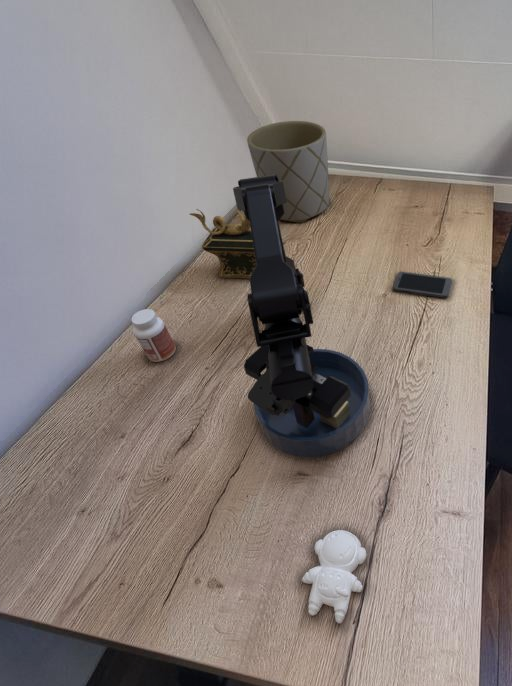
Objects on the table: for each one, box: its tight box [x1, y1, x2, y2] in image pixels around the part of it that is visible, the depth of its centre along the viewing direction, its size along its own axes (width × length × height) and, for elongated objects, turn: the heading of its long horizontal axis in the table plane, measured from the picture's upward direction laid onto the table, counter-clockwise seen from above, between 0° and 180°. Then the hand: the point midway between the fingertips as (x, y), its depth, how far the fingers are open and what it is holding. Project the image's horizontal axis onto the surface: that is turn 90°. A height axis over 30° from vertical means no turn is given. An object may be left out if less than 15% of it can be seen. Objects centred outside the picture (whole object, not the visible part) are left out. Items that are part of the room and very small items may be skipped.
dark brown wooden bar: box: [293, 402, 315, 428], centre depth 80 cm, size 2×2×11 cm
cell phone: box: [392, 271, 453, 299], centre depth 114 cm, size 7×14×1 cm, turn 74°
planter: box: [246, 120, 330, 224], centre depth 139 cm, size 23×23×24 cm
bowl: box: [253, 348, 371, 459], centre depth 86 cm, size 21×21×6 cm
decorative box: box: [188, 208, 256, 279], centre depth 117 cm, size 20×10×20 cm, turn 83°
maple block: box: [320, 401, 350, 429], centre depth 84 cm, size 4×4×4 cm
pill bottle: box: [131, 308, 176, 363], centre depth 98 cm, size 6×6×11 cm
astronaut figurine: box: [301, 529, 367, 624], centre depth 65 cm, size 9×12×3 cm
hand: (303, 409), depth 81 cm, fingers closed on dark brown wooden bar, 2 cm apart
